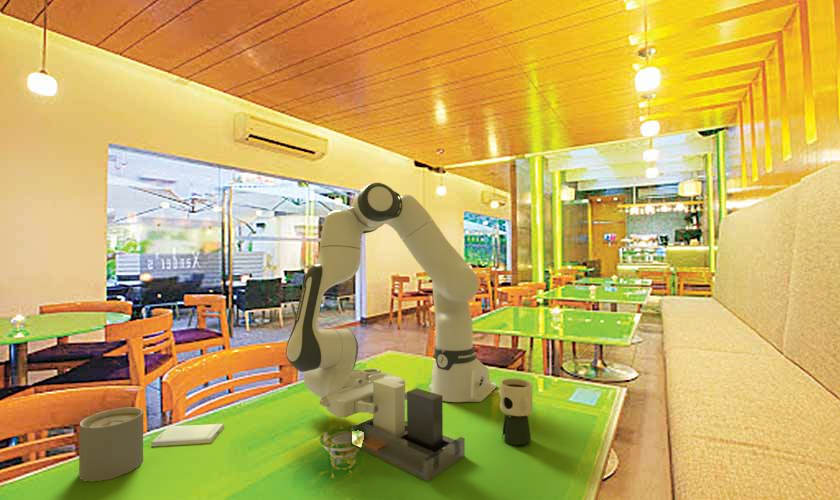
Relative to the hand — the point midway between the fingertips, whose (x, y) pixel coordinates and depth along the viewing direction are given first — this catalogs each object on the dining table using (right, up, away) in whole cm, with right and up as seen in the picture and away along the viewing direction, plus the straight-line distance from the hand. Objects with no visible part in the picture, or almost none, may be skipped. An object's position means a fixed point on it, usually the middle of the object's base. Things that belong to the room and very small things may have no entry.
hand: (391, 402), depth 87 cm
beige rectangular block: (-1, -8, 0) cm, 8 cm away
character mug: (+28, -9, +1) cm, 29 cm away
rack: (+3, -9, -3) cm, 10 cm away
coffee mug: (-55, -9, -8) cm, 56 cm away
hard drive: (-47, -10, +4) cm, 48 cm away
